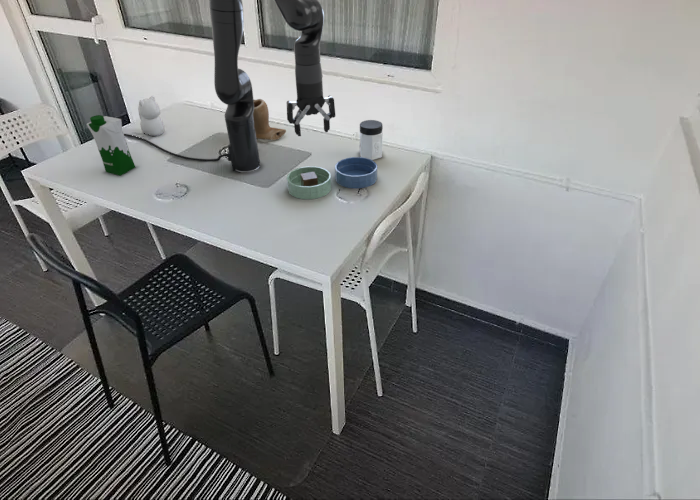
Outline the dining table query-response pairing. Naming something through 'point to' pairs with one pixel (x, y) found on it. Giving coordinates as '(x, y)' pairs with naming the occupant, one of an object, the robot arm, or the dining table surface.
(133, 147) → the dining table surface
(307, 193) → the celadon bowl
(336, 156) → the dining table surface
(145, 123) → the cat figurine
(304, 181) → the walnut block
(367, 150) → the jar
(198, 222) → the dining table surface
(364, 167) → the blue bowl
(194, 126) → the dining table surface
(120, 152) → the milk carton
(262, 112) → the tan boot
